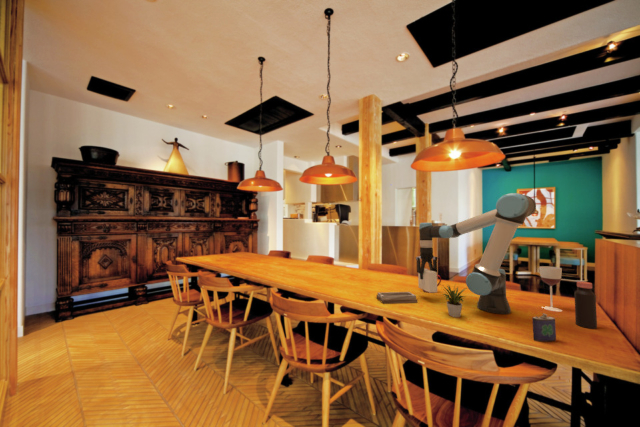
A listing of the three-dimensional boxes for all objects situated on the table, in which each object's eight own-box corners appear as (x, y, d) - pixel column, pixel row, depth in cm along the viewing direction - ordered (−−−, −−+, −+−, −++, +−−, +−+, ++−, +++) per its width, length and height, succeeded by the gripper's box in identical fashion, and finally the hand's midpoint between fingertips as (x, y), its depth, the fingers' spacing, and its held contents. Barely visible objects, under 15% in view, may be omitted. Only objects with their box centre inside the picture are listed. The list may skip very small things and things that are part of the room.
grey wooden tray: (417, 302, 148) (417, 296, 148) (383, 303, 145) (383, 297, 145) (408, 297, 160) (408, 291, 160) (376, 297, 157) (376, 291, 157)
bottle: (599, 327, 113) (597, 283, 114) (594, 330, 110) (592, 284, 111) (578, 322, 119) (576, 280, 120) (573, 324, 116) (571, 281, 117)
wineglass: (567, 310, 136) (565, 268, 137) (556, 312, 132) (555, 269, 134) (547, 305, 145) (545, 265, 146) (536, 307, 141) (535, 266, 142)
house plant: (432, 314, 128) (431, 283, 128) (441, 308, 137) (441, 279, 138) (463, 322, 118) (462, 288, 118) (470, 315, 127) (470, 283, 128)
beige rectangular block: (437, 292, 148) (436, 271, 149) (429, 292, 148) (428, 272, 149) (425, 287, 161) (425, 268, 162) (418, 287, 161) (418, 268, 161)
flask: (551, 338, 102) (550, 312, 102) (559, 341, 99) (558, 314, 99) (531, 339, 101) (530, 312, 101) (538, 342, 98) (537, 315, 99)
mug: (421, 292, 171) (421, 272, 172) (421, 289, 180) (421, 270, 180) (441, 294, 166) (441, 274, 167) (441, 291, 174) (440, 272, 175)
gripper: (436, 246, 161) (437, 282, 159) (409, 246, 159) (410, 283, 157) (443, 247, 153) (444, 285, 152) (415, 247, 151) (416, 286, 150)
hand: (427, 284), depth 155 cm, fingers closed on beige rectangular block, 5 cm apart
